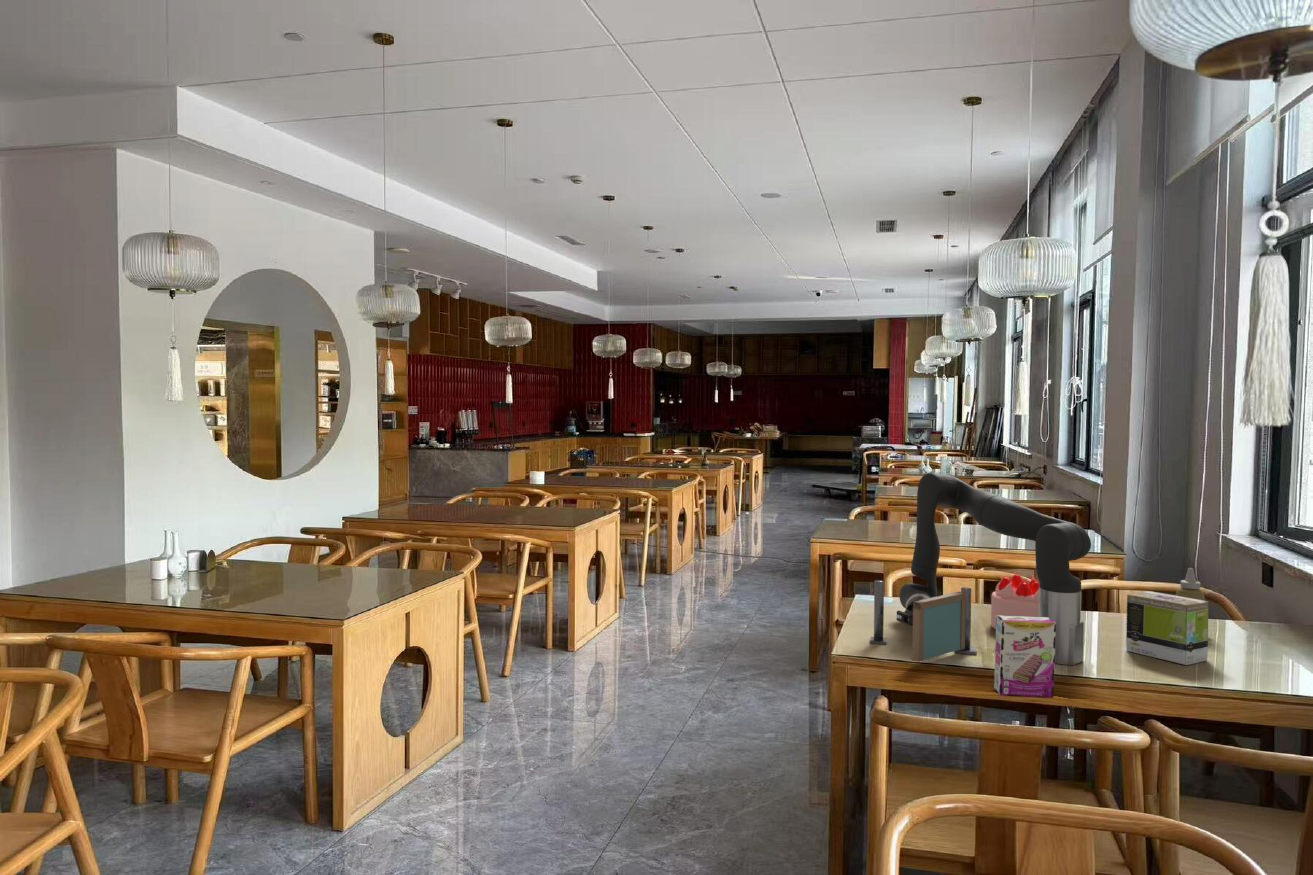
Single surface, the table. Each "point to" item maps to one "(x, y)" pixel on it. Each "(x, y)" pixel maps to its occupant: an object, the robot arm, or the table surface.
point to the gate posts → (880, 618)
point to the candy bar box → (1025, 656)
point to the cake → (1015, 598)
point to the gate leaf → (938, 625)
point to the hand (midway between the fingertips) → (922, 625)
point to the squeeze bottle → (1190, 587)
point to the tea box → (1167, 627)
